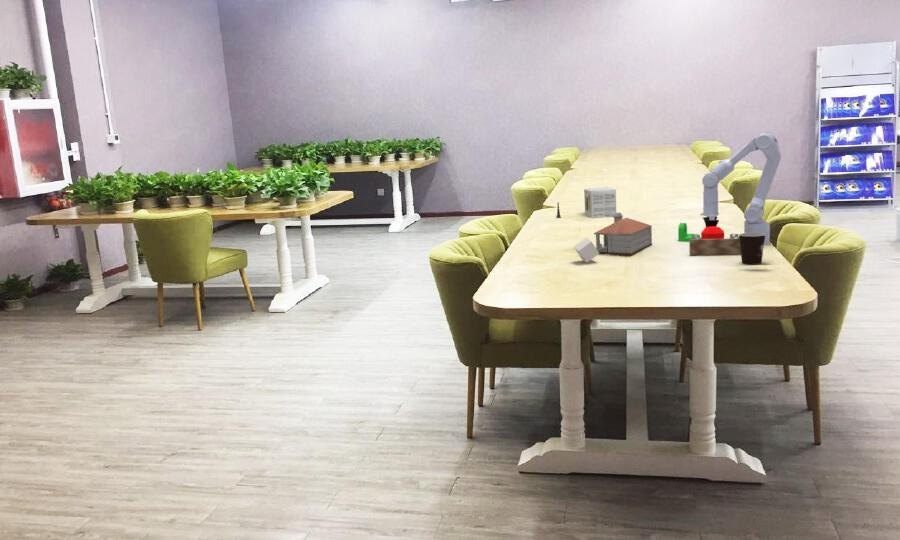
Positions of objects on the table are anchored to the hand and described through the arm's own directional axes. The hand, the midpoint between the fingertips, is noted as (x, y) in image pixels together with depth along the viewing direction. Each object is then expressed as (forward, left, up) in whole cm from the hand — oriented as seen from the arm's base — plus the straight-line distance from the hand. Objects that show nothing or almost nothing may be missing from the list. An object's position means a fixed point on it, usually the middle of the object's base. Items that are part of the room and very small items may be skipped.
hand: (710, 235), depth 313 cm
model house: (+35, +14, -3) cm, 38 cm away
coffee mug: (-11, +45, -3) cm, 46 cm away
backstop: (0, +29, -3) cm, 29 cm away
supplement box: (+48, -70, -3) cm, 85 cm away
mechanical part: (+8, -7, -3) cm, 11 cm away
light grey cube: (+48, +38, -3) cm, 61 cm away
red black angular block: (0, +9, -3) cm, 9 cm away
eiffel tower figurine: (+69, -66, -4) cm, 96 cm away
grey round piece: (0, +22, -3) cm, 22 cm away
